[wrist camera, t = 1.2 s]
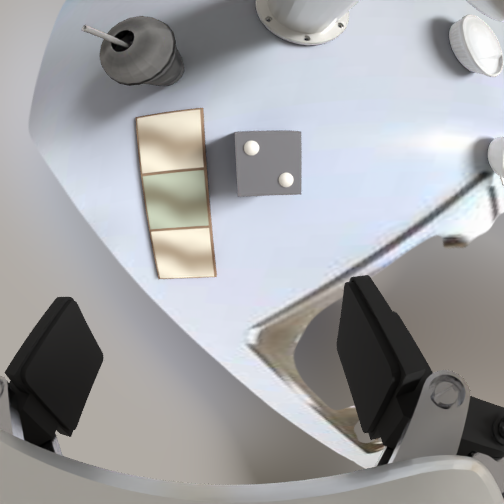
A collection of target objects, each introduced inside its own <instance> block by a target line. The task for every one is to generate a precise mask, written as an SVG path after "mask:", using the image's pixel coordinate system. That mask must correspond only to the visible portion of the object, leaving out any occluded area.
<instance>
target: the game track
mask: <svg viewBox="0 0 504 504" xmlns="http://www.w3.org/2000/svg"><path fill="white" fill-rule="evenodd" d="M135 119H136V132H137V144H138V154H139V163H140V172H141V180H142V187H143V195H144V201H145V208H146V214H147V220H148V226H149V232H150V238H151V243H152V248H153V253H154V258H155V263H156V268H157V273H158V277H159V279H174V278H201V277H216V276H217V272H216V263H215V253H214V243H213V233H212V223H211V212H210V200H209V188H208V175H207V162H206V147H205V131H204V113H203V108H196V109H187V110H179V111H171V112H164V113H158V114H152V115H146V116H140V117H135Z"/></svg>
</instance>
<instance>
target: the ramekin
mask: <svg viewBox="0 0 504 504" xmlns="http://www.w3.org/2000/svg"><path fill="white" fill-rule="evenodd" d="M449 40H450V45H451V48H452V50H453V52H454V54H455V56H456V57H457V59H458V60H459V61H460V63H461V64H462V65H463V66H464V67H465V68H467V69H468V70H470V71H472V72H475V73H479V74H484V75H486V76H489V77H496V76H498V75H499V74H500V73H501V71H502V68H503V54H502V50H501V47H500V44H499V42H498V40H497V38H496V36H495V34H494V32H493V31H492V30H491V28H490V27H489V26H488V25H487V24H486V23H485V22H484V21H483V20H482V19H480V18H479V17H477V16H475V15H466V16H464V17H462V19H461V20H459V21H457V22H456V23H454V24H453V25H452V26H451V28H450V31H449Z"/></svg>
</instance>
